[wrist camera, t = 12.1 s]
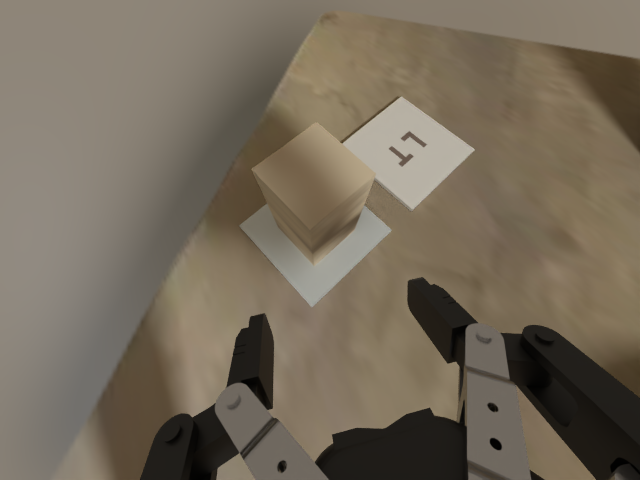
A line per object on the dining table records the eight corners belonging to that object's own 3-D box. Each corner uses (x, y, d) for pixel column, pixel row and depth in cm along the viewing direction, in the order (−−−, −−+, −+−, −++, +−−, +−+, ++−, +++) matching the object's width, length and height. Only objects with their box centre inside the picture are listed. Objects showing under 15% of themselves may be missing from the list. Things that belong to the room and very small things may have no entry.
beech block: (317, 194, 23) (316, 121, 15) (354, 230, 22) (376, 173, 13) (277, 227, 22) (251, 168, 14) (314, 266, 21) (309, 229, 12)
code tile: (400, 99, 27) (401, 96, 27) (472, 152, 25) (475, 149, 25) (338, 148, 25) (338, 146, 25) (411, 211, 23) (412, 209, 23)
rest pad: (317, 165, 25) (317, 163, 24) (390, 231, 22) (391, 230, 22) (240, 227, 22) (238, 225, 22) (311, 307, 20) (311, 307, 20)
